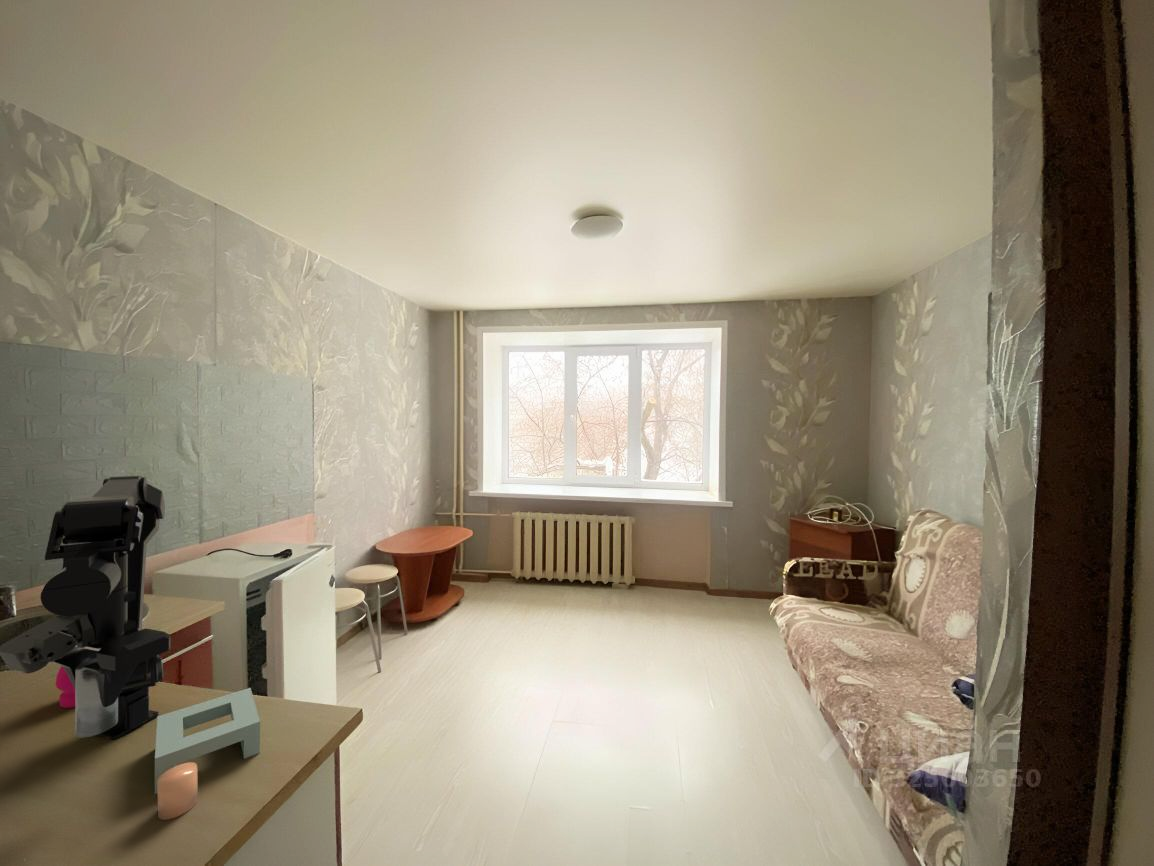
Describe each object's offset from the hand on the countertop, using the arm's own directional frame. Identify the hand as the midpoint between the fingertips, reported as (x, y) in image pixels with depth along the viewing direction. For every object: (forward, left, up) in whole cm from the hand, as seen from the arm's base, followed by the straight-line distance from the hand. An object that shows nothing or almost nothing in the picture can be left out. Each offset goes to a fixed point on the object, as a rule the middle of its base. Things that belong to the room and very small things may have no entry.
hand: (97, 702), depth 61 cm
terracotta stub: (+13, +1, -13) cm, 18 cm away
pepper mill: (-30, +15, -13) cm, 36 cm away
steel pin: (0, 0, -3) cm, 3 cm away
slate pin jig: (+6, +10, -13) cm, 18 cm away
